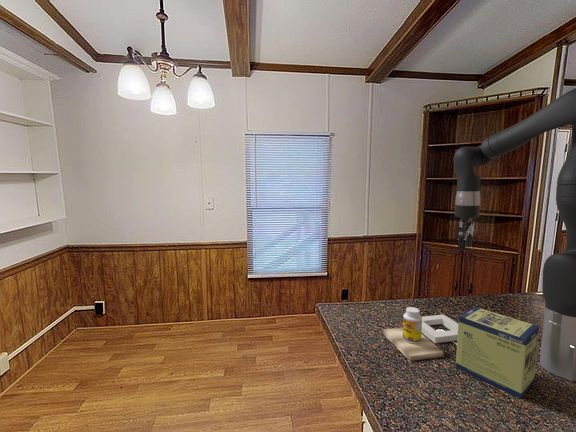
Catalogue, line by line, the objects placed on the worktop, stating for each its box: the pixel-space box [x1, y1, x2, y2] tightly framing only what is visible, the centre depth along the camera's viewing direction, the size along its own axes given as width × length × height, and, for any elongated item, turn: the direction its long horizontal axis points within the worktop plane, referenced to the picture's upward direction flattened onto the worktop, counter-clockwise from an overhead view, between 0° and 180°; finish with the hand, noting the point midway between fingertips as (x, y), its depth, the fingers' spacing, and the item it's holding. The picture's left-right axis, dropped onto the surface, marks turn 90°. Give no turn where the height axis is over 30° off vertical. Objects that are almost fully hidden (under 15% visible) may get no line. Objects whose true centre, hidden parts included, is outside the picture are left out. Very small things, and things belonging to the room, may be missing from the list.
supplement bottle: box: [402, 306, 423, 343], centre depth 94 cm, size 6×6×10 cm
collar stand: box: [421, 314, 458, 344], centre depth 103 cm, size 14×14×2 cm
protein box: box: [454, 306, 540, 400], centre depth 79 cm, size 10×16×16 cm
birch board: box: [382, 326, 444, 362], centre depth 95 cm, size 16×11×2 cm
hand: (464, 248), depth 106 cm, fingers open, 8 cm apart
